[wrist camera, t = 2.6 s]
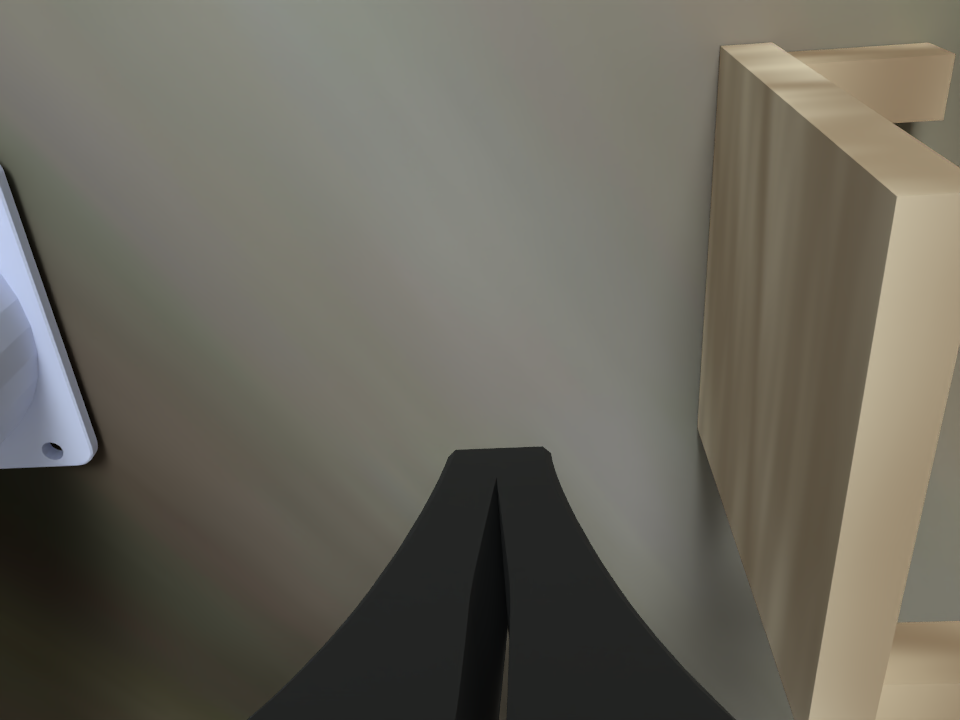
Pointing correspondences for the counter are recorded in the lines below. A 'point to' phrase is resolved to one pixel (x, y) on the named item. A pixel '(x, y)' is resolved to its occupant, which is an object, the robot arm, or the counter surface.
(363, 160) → the counter surface
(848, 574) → the footstool
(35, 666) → the counter surface
